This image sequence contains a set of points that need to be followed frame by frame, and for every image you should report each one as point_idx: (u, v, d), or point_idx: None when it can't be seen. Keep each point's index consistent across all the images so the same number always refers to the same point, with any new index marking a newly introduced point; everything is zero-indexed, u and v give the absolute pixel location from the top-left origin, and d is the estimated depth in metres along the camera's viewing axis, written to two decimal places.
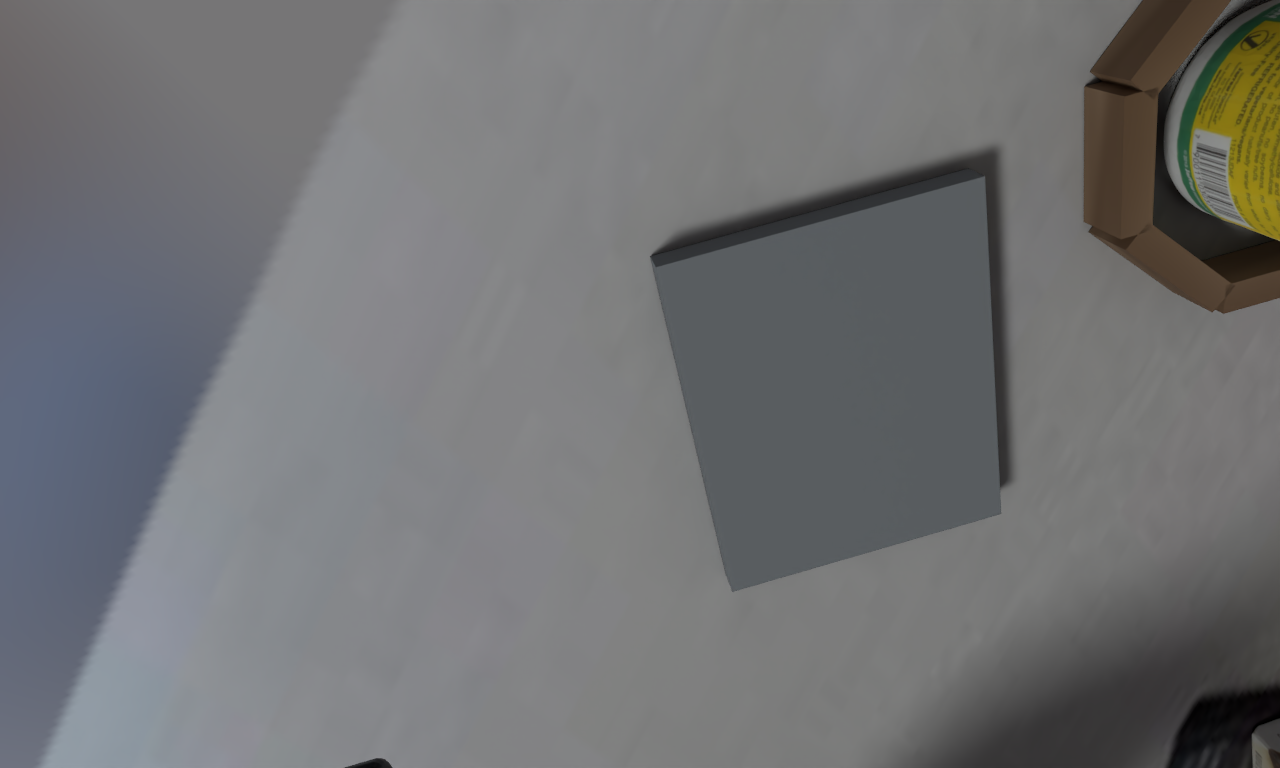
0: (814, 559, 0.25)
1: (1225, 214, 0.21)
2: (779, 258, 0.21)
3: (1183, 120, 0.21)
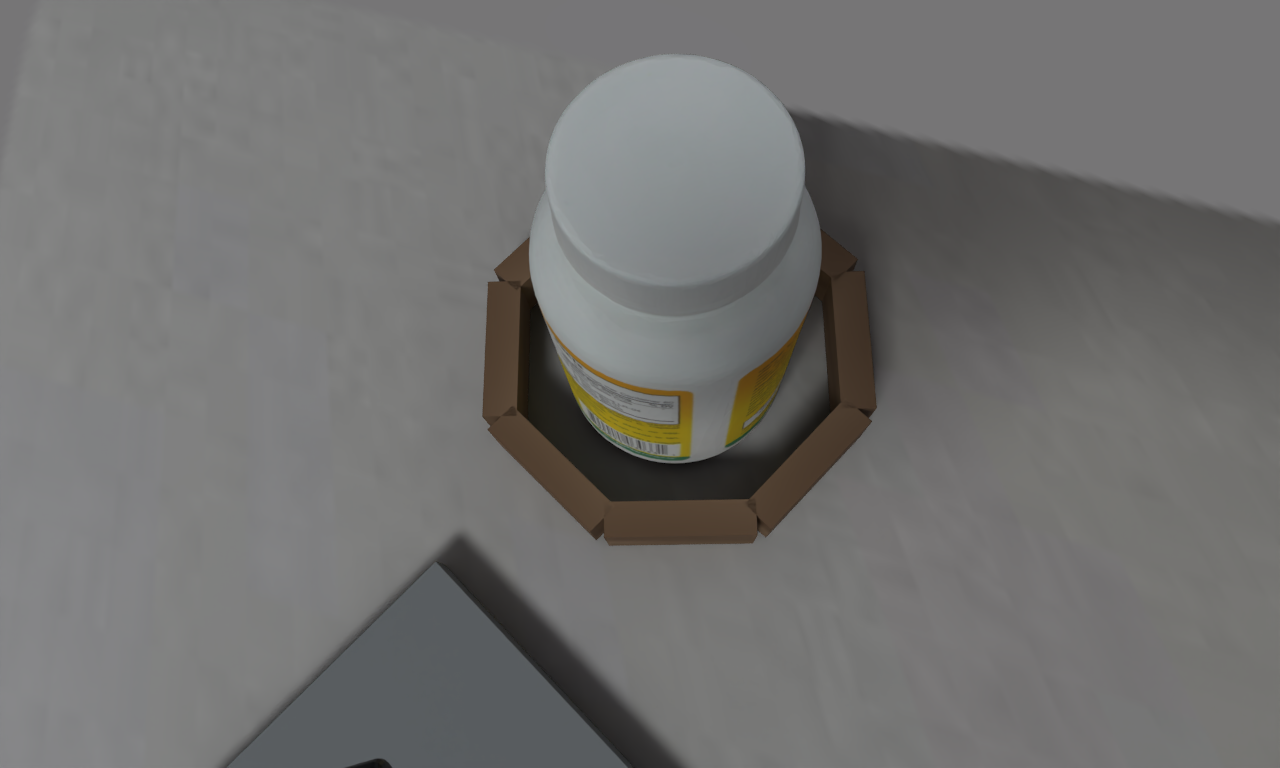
0: None
1: (664, 450, 0.20)
2: (281, 751, 0.20)
3: (583, 412, 0.22)
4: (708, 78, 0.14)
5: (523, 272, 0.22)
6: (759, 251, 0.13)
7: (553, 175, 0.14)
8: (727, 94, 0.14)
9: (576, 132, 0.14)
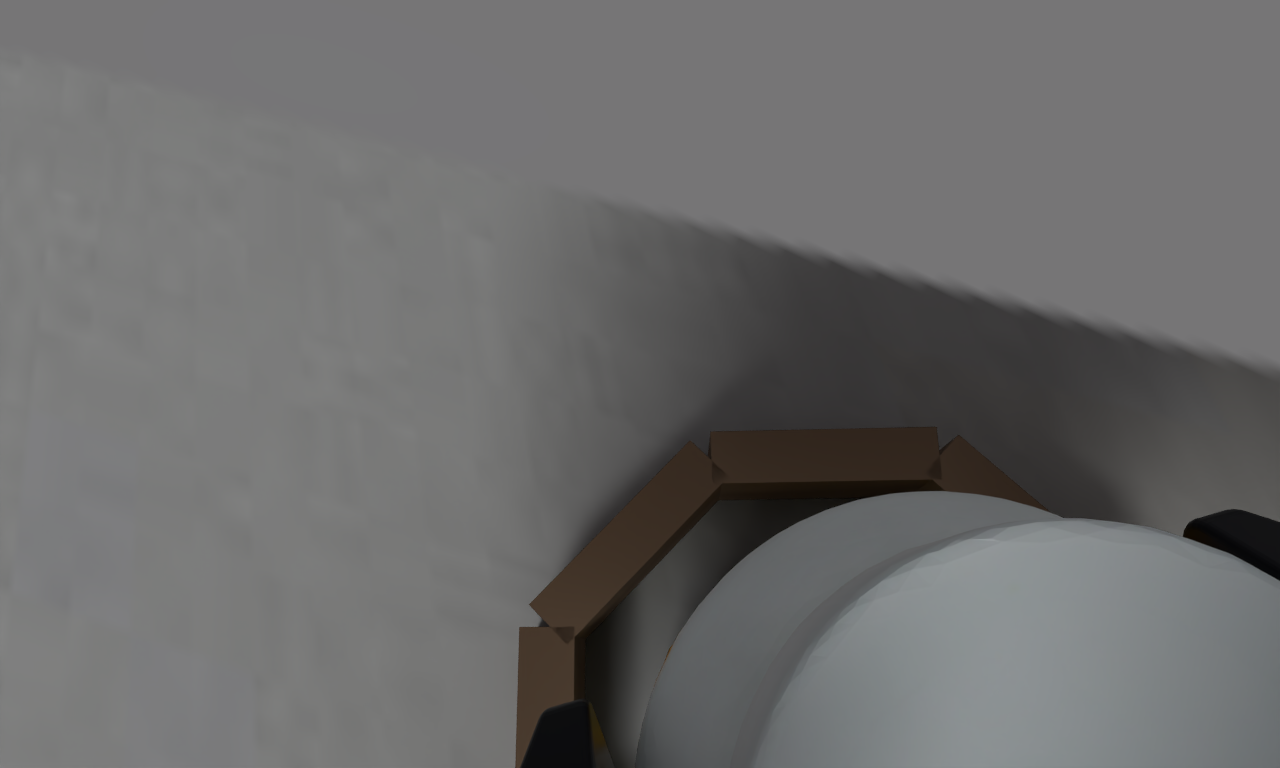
0: None
1: None
2: None
3: None
4: (1182, 605, 0.05)
5: (579, 611, 0.13)
6: None
7: None
8: (1247, 659, 0.05)
9: None
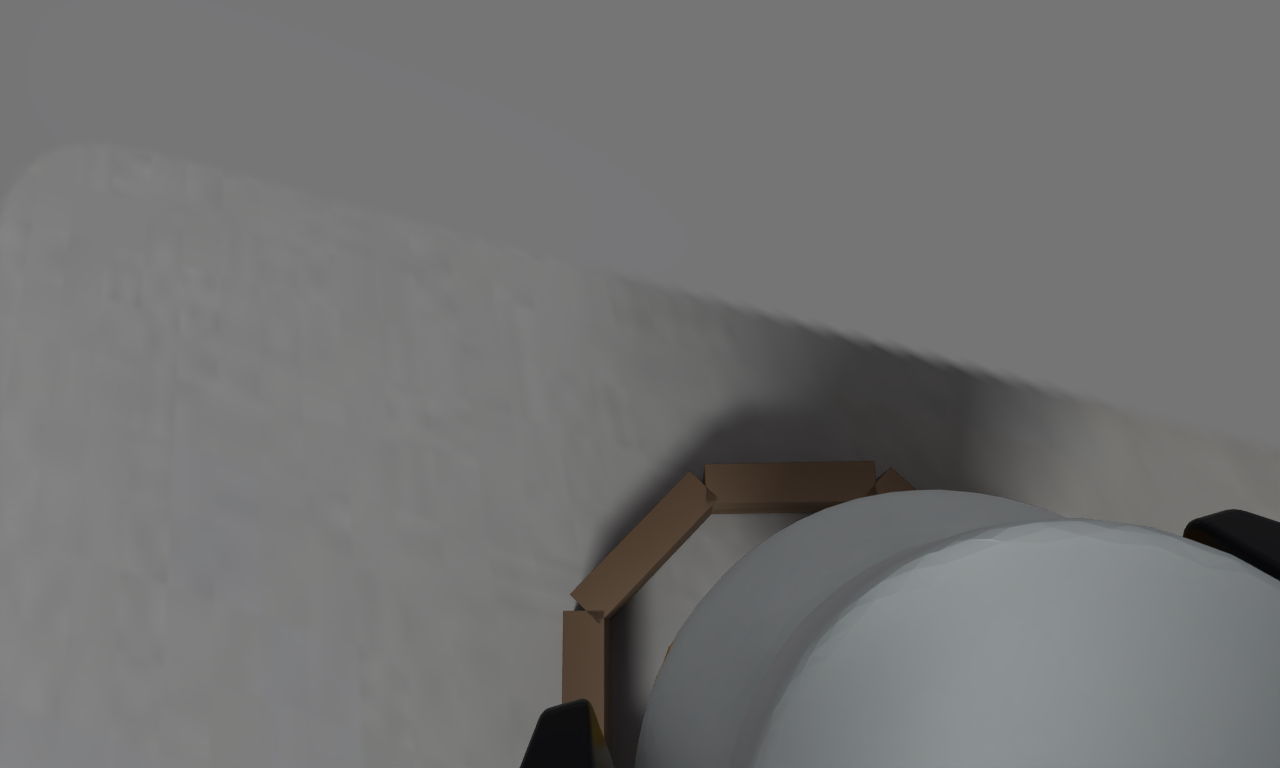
0: None
1: None
2: None
3: None
4: (1182, 605, 0.05)
5: (607, 599, 0.18)
6: None
7: None
8: (1244, 659, 0.05)
9: None
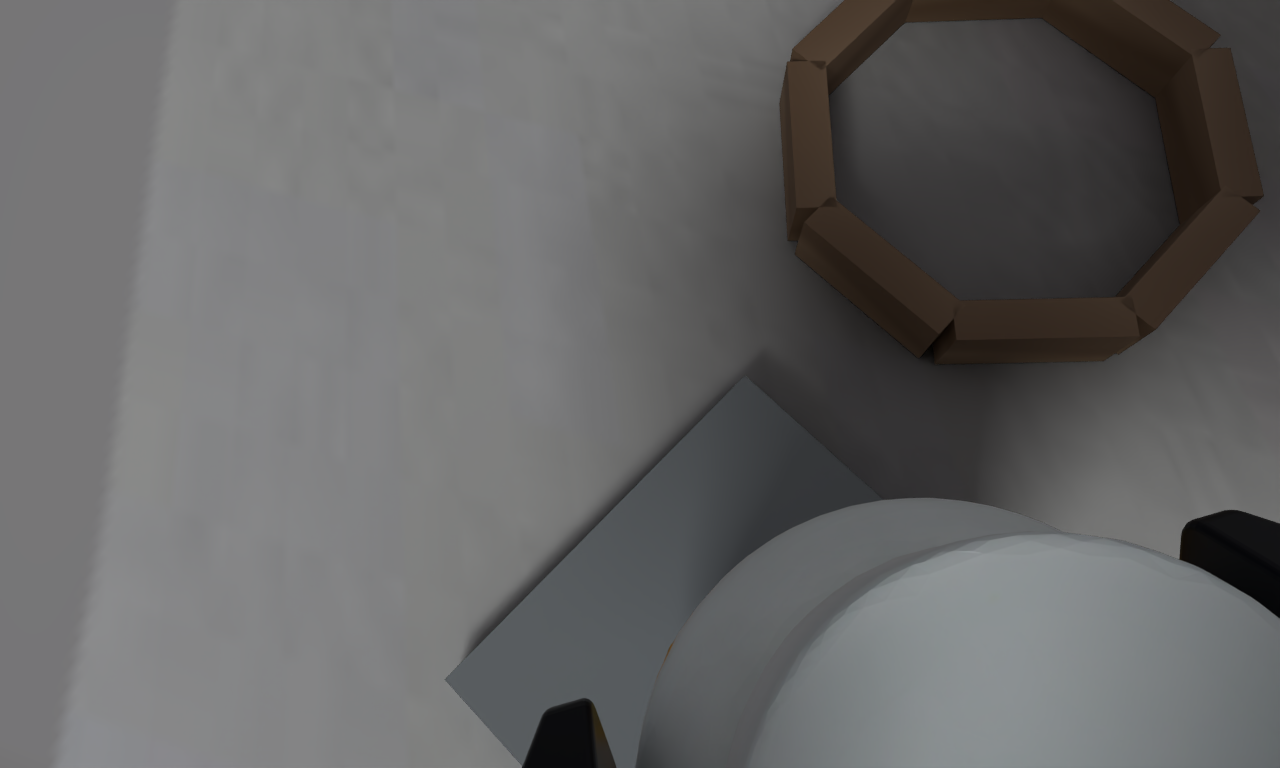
0: None
1: None
2: (581, 587, 0.17)
3: None
4: (1151, 614, 0.05)
5: (828, 51, 0.19)
6: None
7: None
8: (1208, 664, 0.05)
9: None
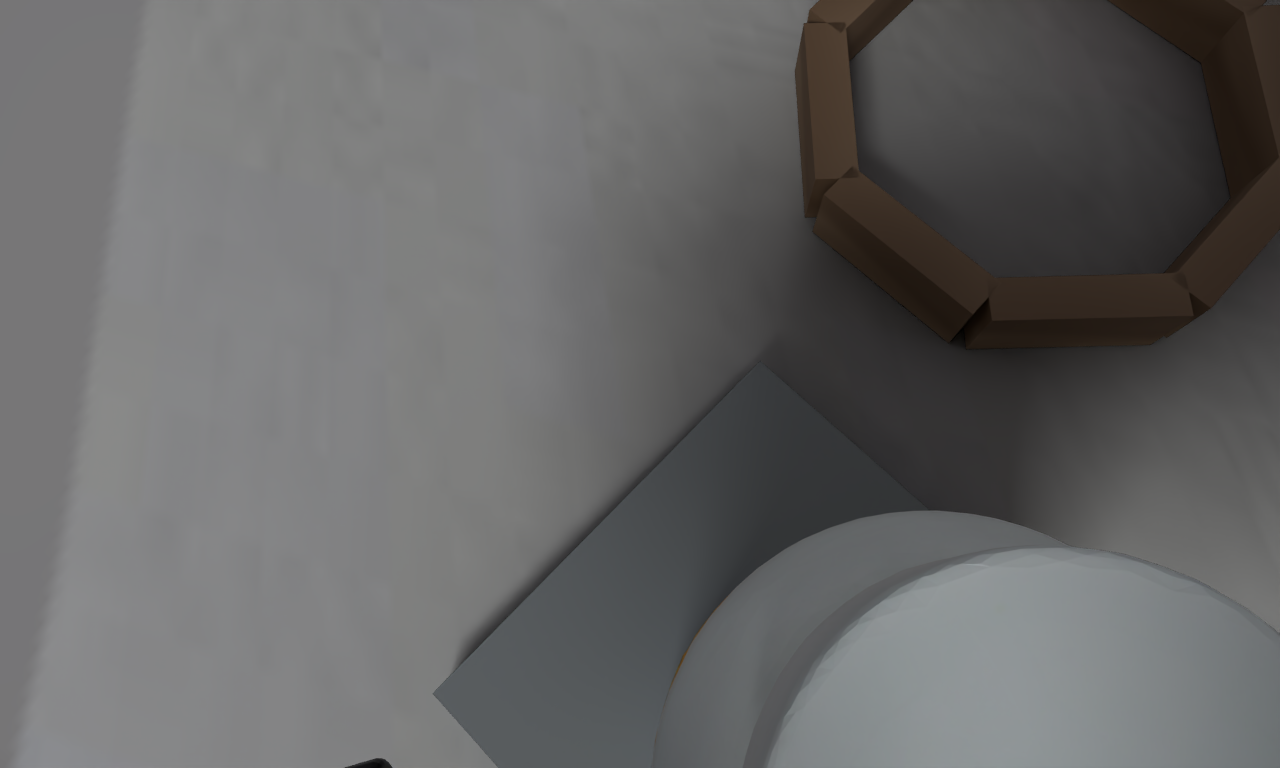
0: None
1: None
2: (582, 591, 0.15)
3: None
4: (1150, 624, 0.06)
5: (848, 11, 0.18)
6: None
7: None
8: (1206, 673, 0.06)
9: None
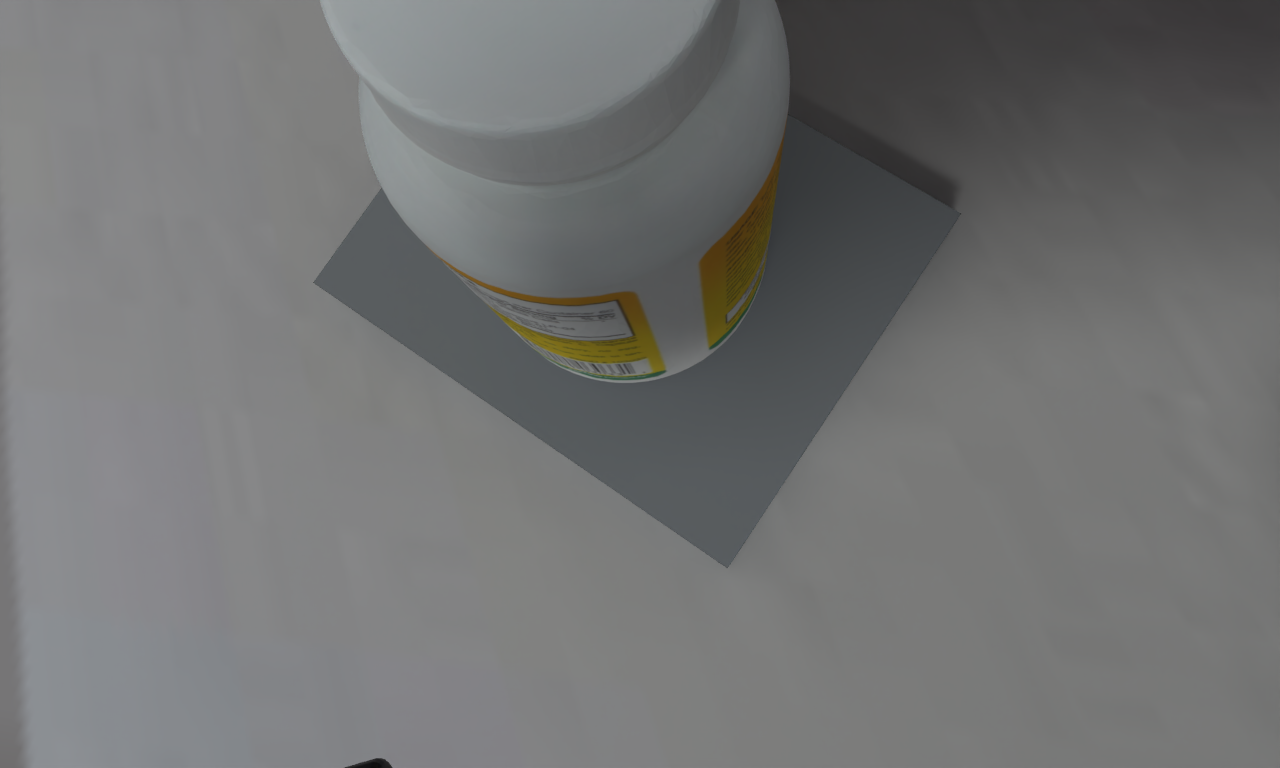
0: (787, 447, 0.17)
1: (629, 369, 0.15)
2: None
3: None
4: None
5: None
6: (679, 46, 0.08)
7: None
8: None
9: None
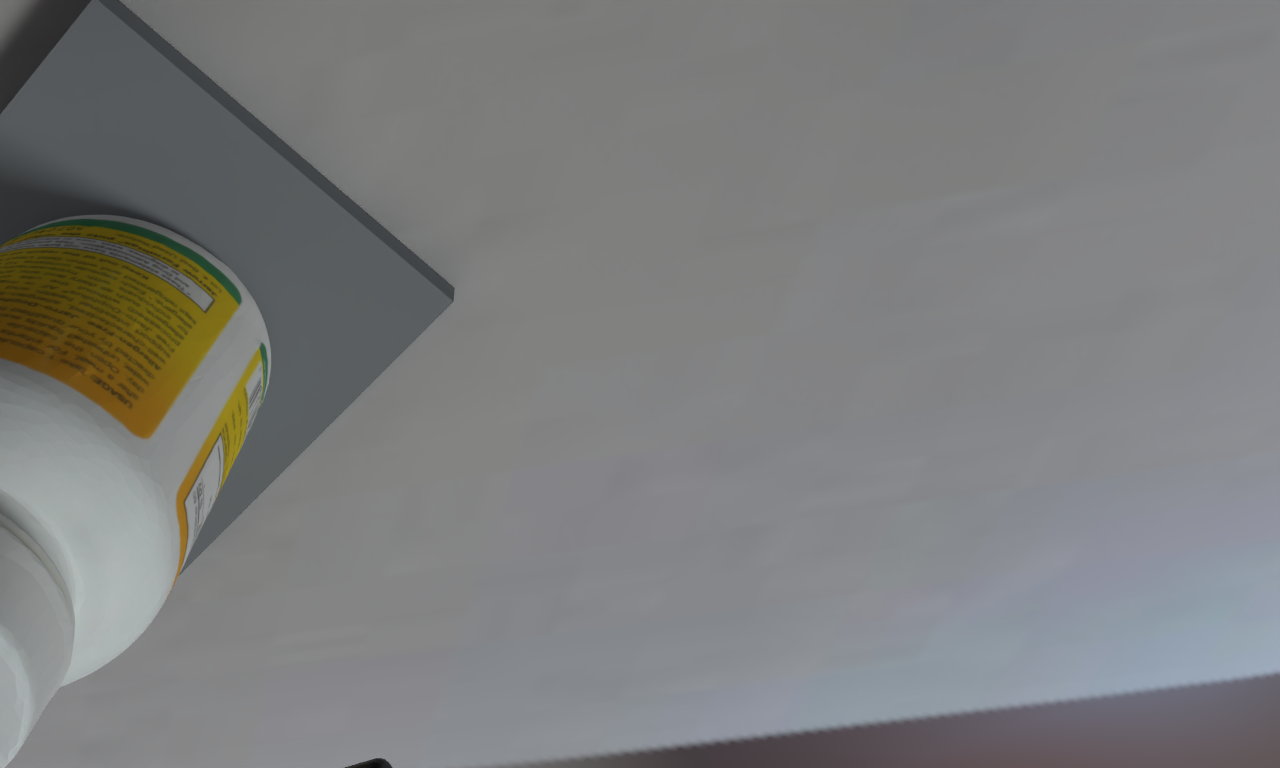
0: (347, 230, 0.18)
1: (256, 387, 0.17)
2: None
3: None
4: None
5: None
6: None
7: None
8: None
9: None
